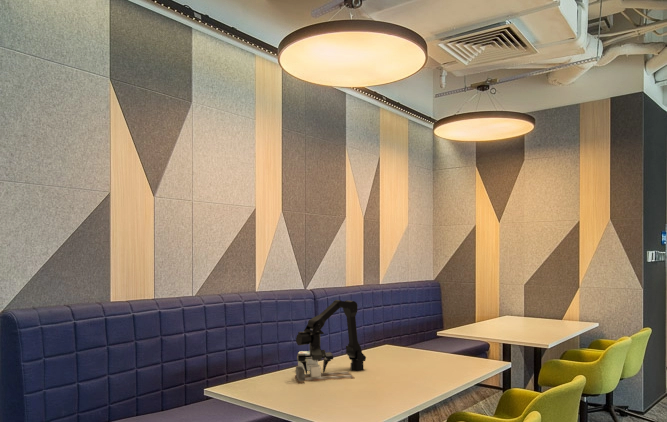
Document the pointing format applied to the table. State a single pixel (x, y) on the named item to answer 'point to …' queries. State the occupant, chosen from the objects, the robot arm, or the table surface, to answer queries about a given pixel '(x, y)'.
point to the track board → (303, 377)
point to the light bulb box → (307, 360)
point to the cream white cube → (315, 370)
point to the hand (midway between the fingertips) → (315, 373)
